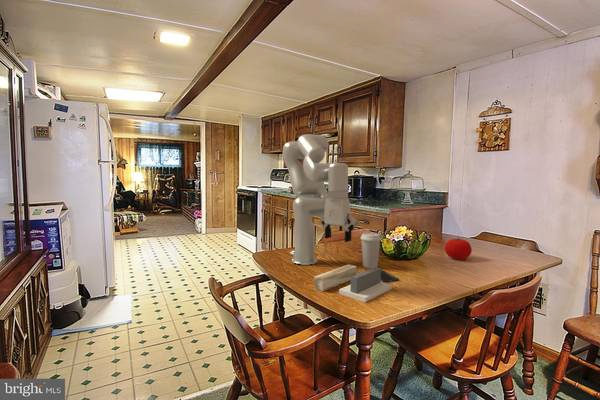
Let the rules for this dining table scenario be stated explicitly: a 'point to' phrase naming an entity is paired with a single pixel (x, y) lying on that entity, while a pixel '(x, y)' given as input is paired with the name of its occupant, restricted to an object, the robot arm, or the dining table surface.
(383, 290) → the ridge stand
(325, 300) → the dining table surface
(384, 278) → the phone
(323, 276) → the beam
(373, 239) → the coffee cup
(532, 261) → the dining table surface
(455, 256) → the tomato
